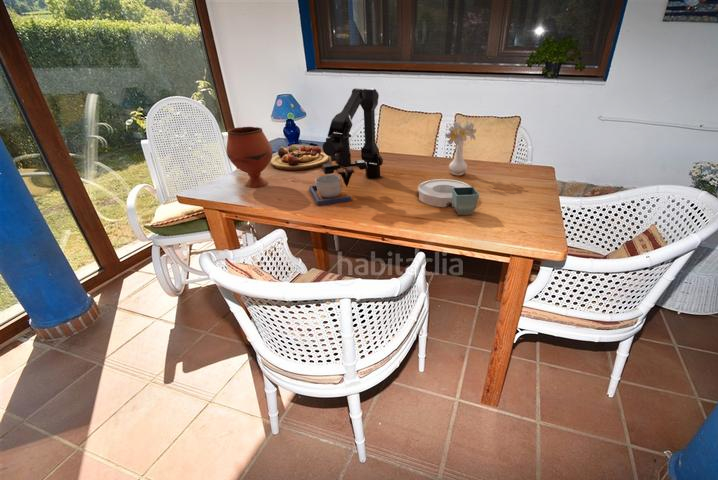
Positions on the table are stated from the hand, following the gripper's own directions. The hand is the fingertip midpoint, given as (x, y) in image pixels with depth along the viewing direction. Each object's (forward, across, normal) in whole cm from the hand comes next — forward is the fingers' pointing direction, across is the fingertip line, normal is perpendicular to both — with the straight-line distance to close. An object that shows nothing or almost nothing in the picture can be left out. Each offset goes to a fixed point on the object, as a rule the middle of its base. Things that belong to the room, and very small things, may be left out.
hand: (346, 185), depth 158 cm
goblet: (+3, +37, -27) cm, 46 cm away
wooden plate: (+3, +12, -56) cm, 57 cm away
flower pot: (+4, -37, +39) cm, 54 cm away
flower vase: (+4, -59, -4) cm, 59 cm away
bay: (+3, +8, 0) cm, 8 cm away
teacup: (+3, +7, 0) cm, 8 cm away
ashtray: (+4, -38, +21) cm, 44 cm away
